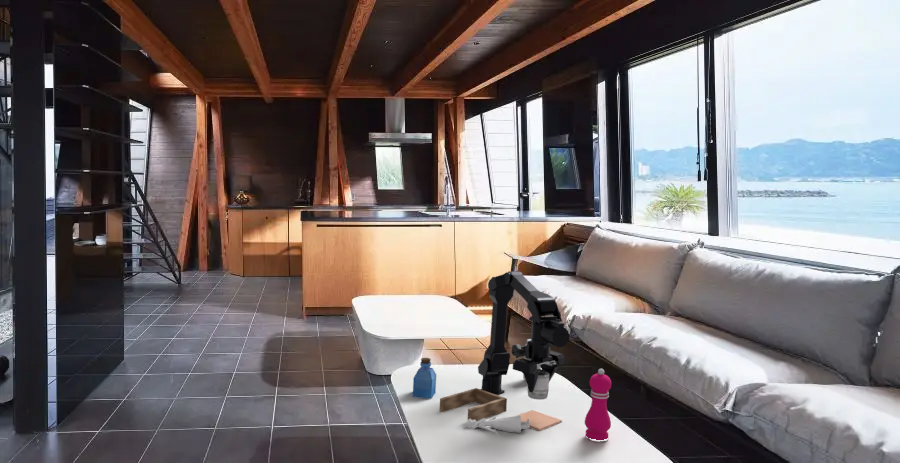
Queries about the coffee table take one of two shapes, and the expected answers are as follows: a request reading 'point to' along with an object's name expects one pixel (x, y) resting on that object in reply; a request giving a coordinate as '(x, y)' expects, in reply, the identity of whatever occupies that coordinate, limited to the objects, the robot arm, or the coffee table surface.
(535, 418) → the terracotta coaster
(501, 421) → the woman figurine
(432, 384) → the perfume bottle
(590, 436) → the pepper mill
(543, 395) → the camera lens
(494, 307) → the robot arm
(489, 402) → the frame
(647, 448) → the coffee table surface
